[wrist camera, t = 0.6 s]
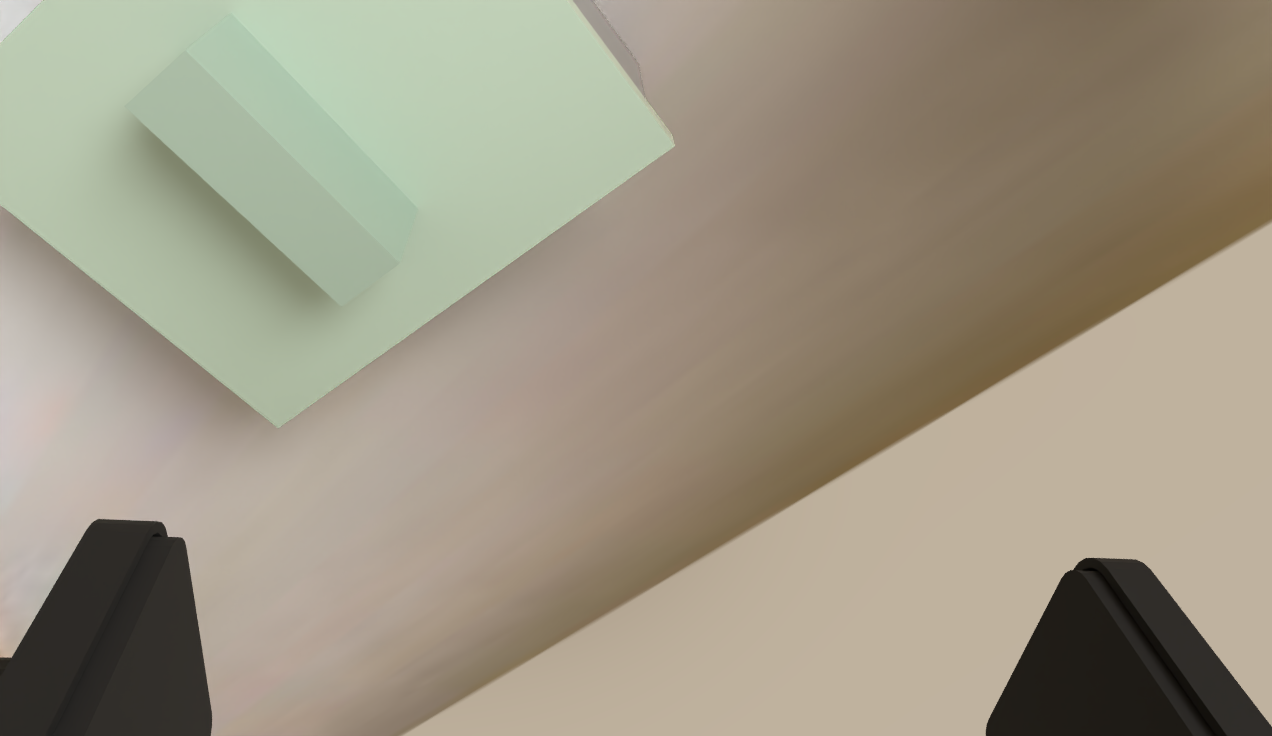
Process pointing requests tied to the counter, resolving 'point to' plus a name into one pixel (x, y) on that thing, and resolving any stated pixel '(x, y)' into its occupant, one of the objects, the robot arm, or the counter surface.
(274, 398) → the lid
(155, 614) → the robot arm
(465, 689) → the counter surface
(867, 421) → the counter surface
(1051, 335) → the counter surface
